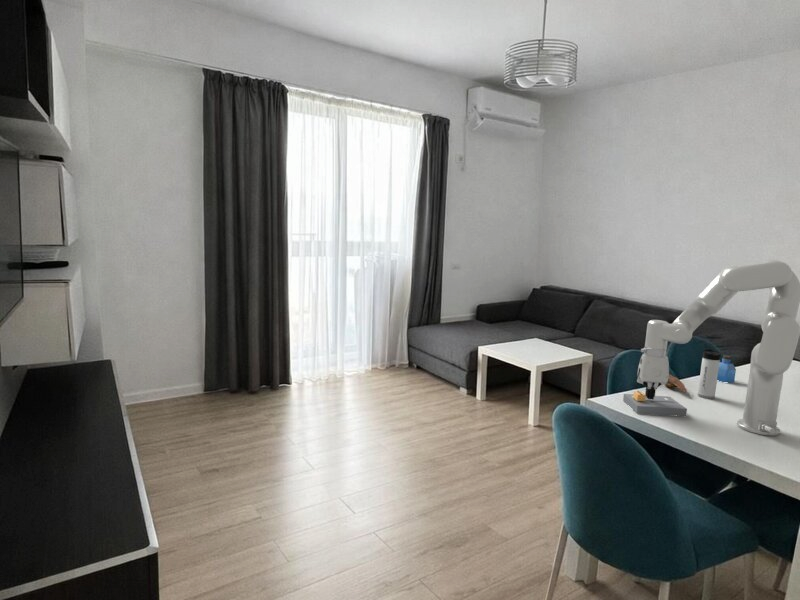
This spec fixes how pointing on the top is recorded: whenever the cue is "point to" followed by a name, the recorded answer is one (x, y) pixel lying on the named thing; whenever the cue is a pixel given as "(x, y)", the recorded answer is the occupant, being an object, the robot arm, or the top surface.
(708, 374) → the travel mug
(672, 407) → the console
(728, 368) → the perfume bottle
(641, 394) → the fader knob
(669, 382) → the bird sculpture
